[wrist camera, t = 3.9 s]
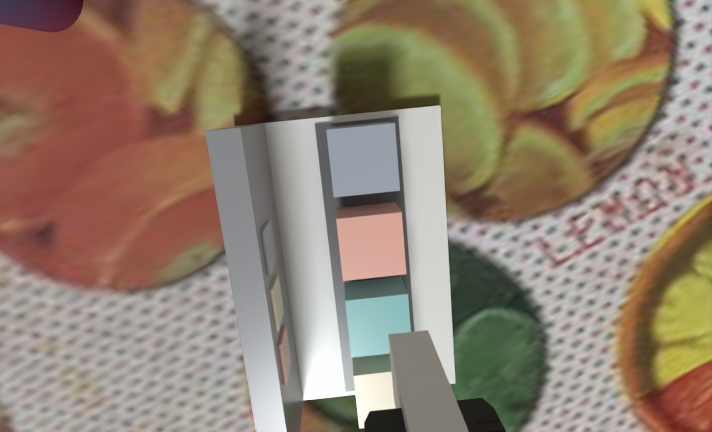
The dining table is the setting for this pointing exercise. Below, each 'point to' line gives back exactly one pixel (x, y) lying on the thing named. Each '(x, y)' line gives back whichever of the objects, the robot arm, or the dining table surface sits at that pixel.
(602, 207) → the dining table surface
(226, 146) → the keypad
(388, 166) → the slate key
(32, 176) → the dining table surface
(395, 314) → the teal key
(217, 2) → the dining table surface
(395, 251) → the coral key
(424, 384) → the robot arm
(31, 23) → the cup
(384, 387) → the sand key
